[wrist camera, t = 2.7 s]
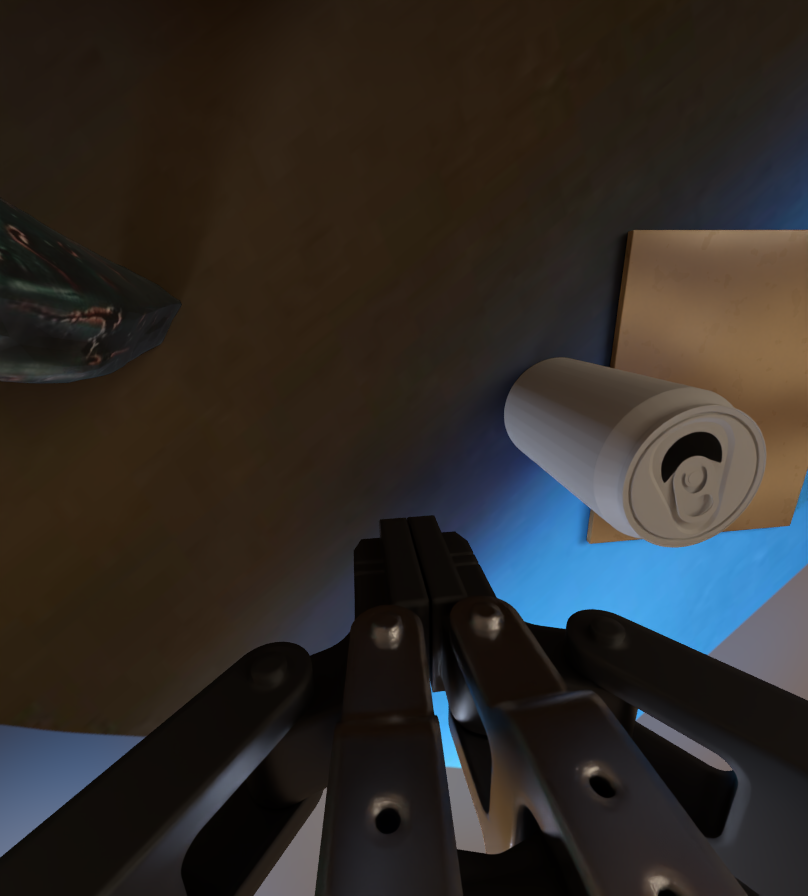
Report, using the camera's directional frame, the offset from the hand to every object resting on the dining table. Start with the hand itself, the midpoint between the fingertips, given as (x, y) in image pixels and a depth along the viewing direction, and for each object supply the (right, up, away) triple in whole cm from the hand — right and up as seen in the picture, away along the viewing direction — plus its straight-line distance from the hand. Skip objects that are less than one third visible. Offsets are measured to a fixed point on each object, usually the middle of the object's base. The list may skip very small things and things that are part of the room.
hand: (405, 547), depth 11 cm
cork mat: (+21, +6, +16) cm, 27 cm away
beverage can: (+9, +5, +15) cm, 18 cm away
